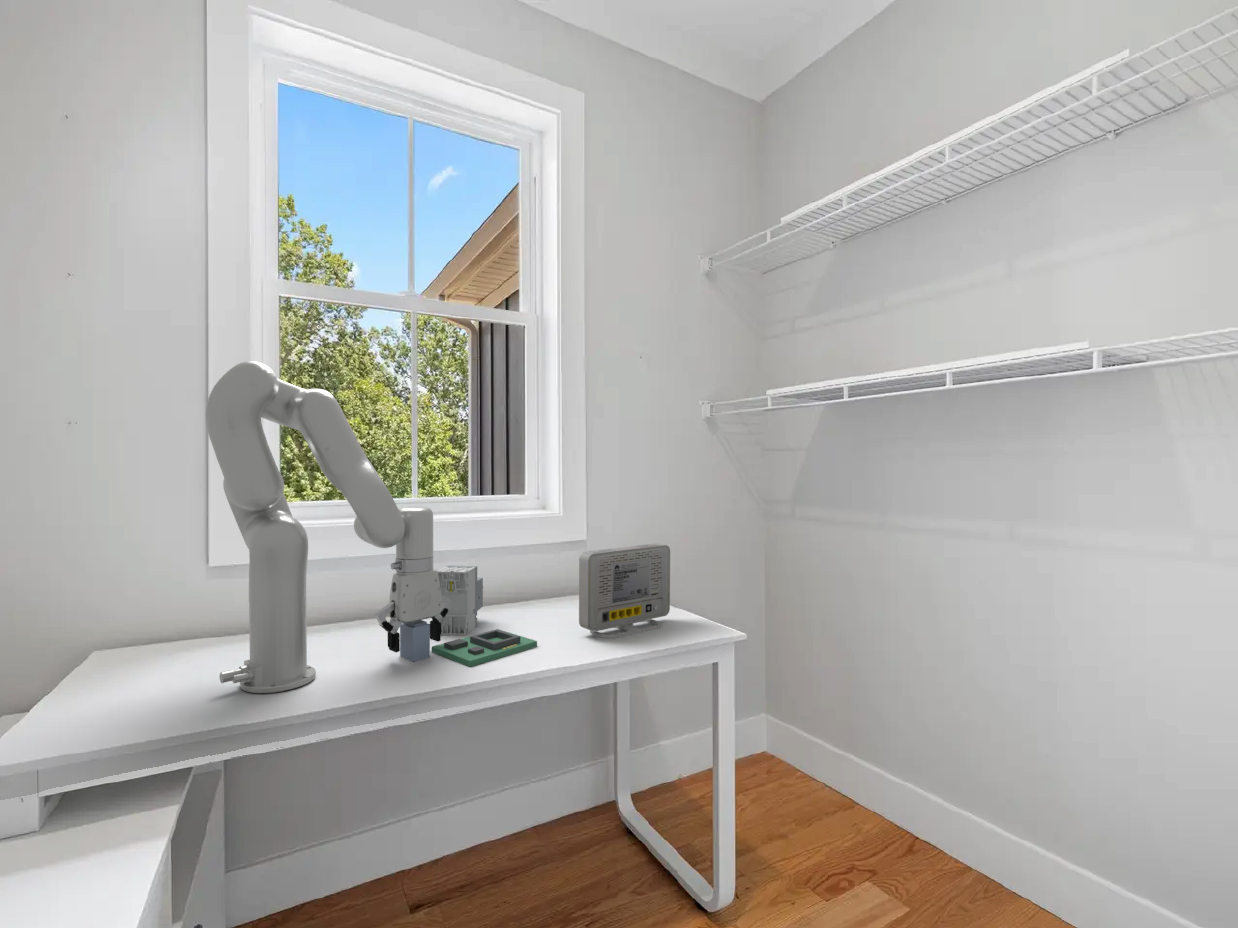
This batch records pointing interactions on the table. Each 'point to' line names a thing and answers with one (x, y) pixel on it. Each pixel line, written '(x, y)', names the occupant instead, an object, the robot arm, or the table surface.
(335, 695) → the table surface
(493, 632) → the board
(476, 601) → the circuit breaker
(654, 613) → the network device
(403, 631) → the plug
